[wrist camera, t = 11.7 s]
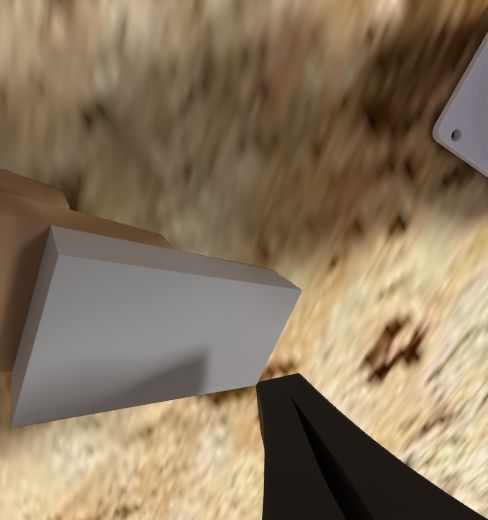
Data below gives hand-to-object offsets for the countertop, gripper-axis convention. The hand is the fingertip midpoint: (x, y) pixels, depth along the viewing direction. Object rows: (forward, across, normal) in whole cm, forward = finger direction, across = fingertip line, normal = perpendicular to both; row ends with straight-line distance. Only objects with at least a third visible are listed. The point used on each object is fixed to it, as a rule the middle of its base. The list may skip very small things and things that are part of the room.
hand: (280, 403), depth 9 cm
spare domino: (+5, -1, 0) cm, 5 cm away
